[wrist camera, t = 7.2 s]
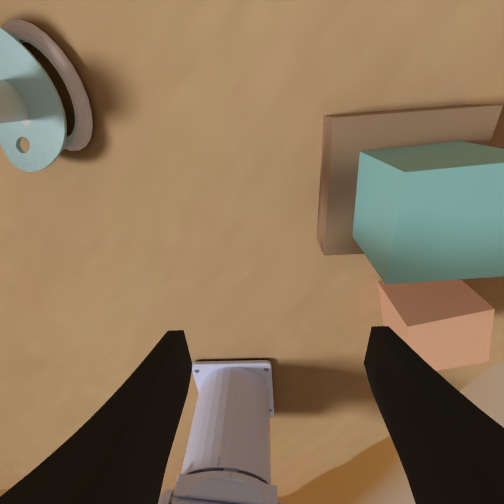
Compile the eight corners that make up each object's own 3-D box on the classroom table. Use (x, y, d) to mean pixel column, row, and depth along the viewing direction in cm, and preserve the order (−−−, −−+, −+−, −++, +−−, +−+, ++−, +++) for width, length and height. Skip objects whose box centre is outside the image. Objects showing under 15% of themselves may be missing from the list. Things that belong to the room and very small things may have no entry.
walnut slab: (426, 230, 19) (452, 249, 16) (315, 235, 20) (324, 255, 17) (461, 105, 15) (503, 104, 13) (322, 115, 16) (334, 117, 13)
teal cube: (436, 229, 16) (503, 276, 11) (352, 236, 16) (385, 284, 12) (459, 141, 13) (555, 157, 9) (359, 151, 14) (405, 172, 9)
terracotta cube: (444, 311, 22) (488, 361, 18) (383, 324, 23) (411, 374, 19) (444, 264, 20) (494, 308, 16) (377, 281, 21) (407, 326, 17)
